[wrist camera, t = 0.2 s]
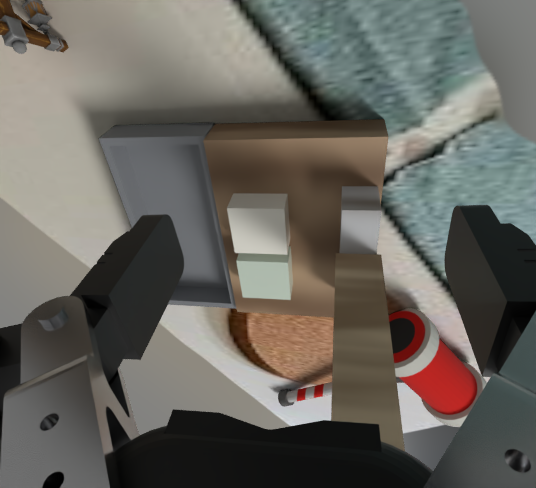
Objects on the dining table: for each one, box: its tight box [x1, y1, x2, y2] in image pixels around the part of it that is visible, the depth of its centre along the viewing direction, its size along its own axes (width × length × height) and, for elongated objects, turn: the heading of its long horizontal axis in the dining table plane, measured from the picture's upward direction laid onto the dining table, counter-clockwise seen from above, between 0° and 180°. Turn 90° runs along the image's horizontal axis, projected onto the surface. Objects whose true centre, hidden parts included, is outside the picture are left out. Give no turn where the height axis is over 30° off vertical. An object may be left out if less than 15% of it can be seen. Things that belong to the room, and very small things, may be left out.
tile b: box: [236, 246, 293, 300], centre depth 31 cm, size 4×4×2 cm
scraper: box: [331, 186, 405, 451], centre depth 23 cm, size 10×3×16 cm, turn 5°
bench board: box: [203, 119, 388, 317], centre depth 31 cm, size 17×12×3 cm
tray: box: [99, 123, 236, 308], centre depth 33 cm, size 17×8×2 cm, turn 5°
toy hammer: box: [278, 308, 487, 427], centre depth 41 cm, size 23×12×6 cm, turn 133°
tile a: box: [227, 193, 290, 255], centre depth 28 cm, size 4×4×2 cm
